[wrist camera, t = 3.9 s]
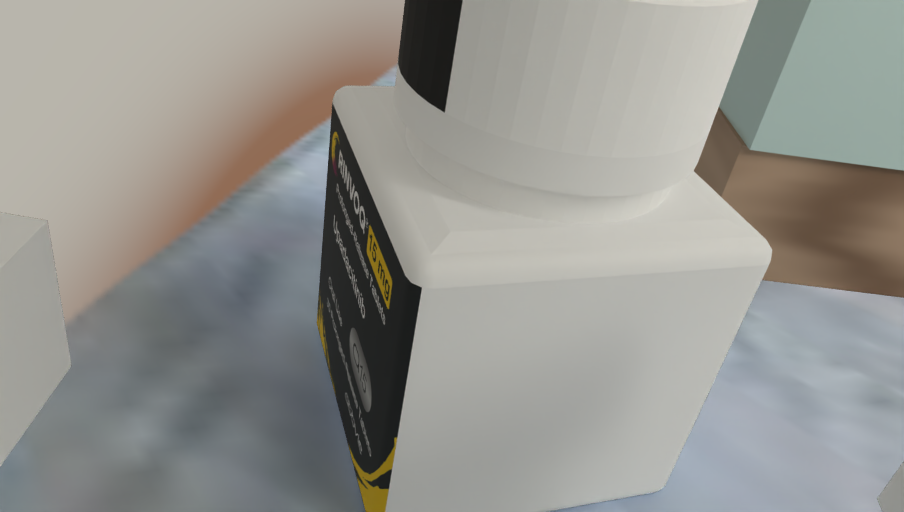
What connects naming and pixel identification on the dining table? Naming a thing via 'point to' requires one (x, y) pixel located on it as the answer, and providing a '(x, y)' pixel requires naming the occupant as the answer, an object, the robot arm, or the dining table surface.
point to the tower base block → (813, 213)
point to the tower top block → (822, 81)
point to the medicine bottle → (532, 252)
